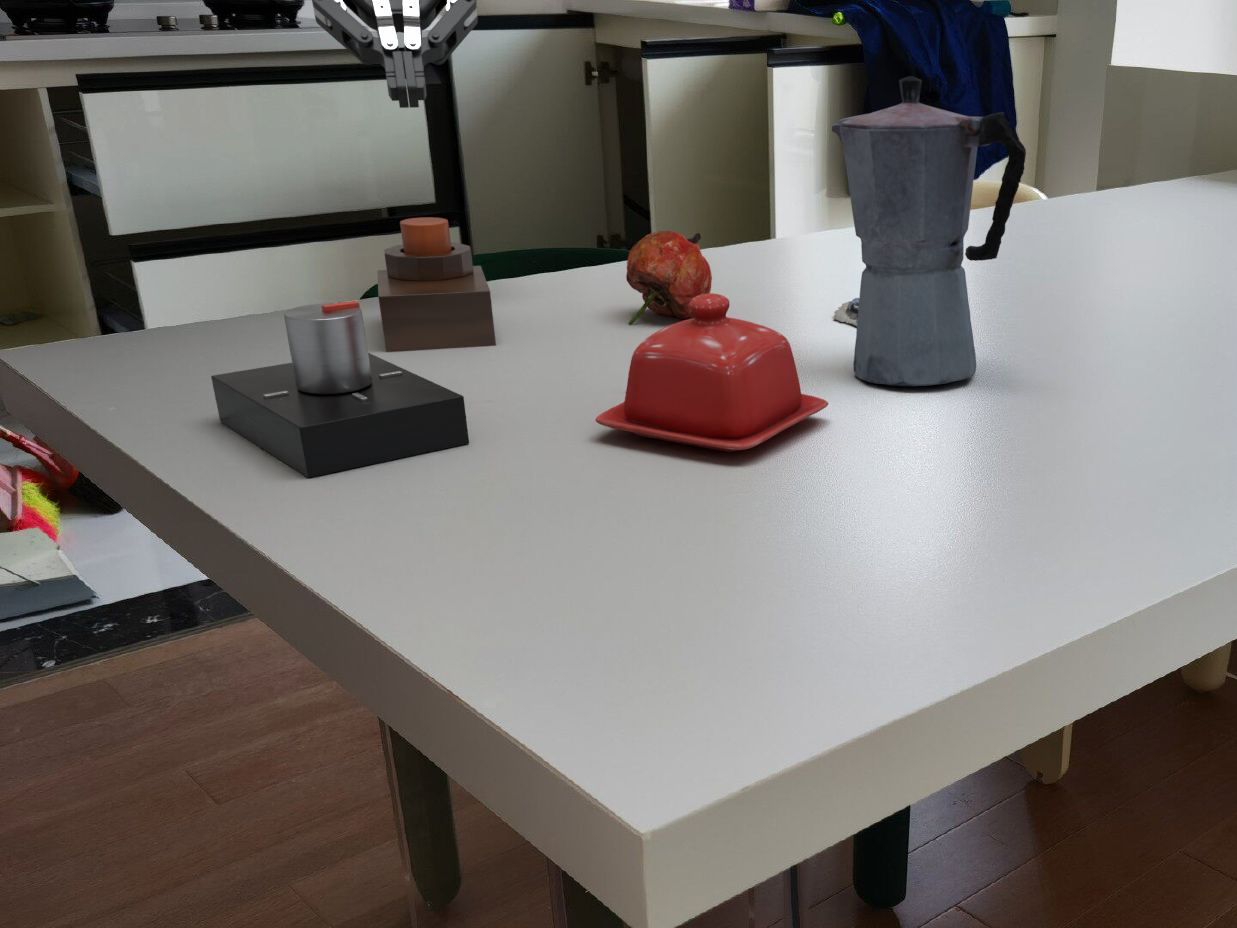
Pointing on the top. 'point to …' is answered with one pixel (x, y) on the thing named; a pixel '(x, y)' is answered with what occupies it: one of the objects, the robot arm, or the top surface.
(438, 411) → the panel
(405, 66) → the robot arm
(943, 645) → the top surface
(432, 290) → the control block
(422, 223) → the button
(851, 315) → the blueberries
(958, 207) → the moka pot
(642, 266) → the pomegranate
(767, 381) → the butter dish
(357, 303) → the hob knob
